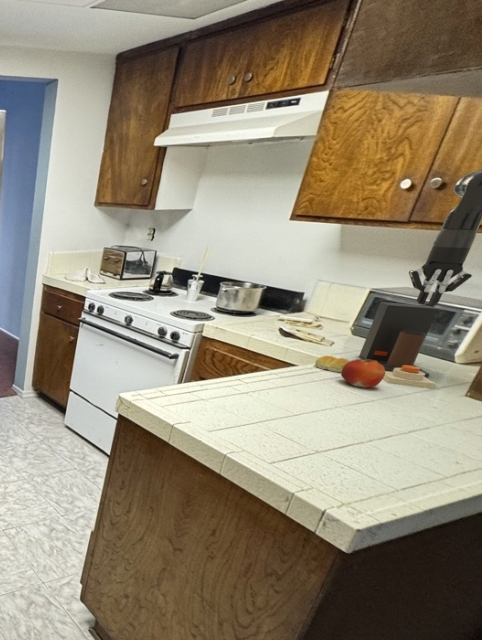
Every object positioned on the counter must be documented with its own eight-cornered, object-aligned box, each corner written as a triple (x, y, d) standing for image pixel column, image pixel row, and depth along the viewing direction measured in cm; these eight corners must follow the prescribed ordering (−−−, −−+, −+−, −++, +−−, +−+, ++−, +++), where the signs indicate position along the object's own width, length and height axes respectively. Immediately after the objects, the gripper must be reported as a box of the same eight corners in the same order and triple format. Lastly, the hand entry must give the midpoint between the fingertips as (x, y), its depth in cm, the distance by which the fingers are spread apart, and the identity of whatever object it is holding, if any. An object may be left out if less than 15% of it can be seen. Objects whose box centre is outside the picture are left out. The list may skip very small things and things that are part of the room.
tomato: (383, 393, 133) (394, 366, 130) (341, 386, 138) (351, 360, 135) (373, 383, 141) (384, 358, 138) (334, 377, 145) (343, 353, 142)
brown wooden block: (381, 360, 156) (395, 327, 152) (404, 363, 153) (419, 329, 149) (390, 367, 150) (405, 332, 145) (415, 370, 147) (431, 334, 143)
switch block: (420, 380, 144) (425, 370, 142) (433, 389, 137) (438, 377, 136) (377, 375, 148) (382, 364, 146) (388, 383, 141) (392, 372, 140)
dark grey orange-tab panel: (427, 378, 146) (457, 315, 138) (376, 372, 151) (402, 310, 143) (403, 363, 160) (429, 305, 152) (357, 358, 165) (380, 301, 157)
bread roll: (323, 363, 159) (327, 352, 157) (354, 371, 151) (359, 359, 149) (307, 365, 156) (311, 354, 154) (339, 374, 148) (344, 362, 147)
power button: (414, 371, 142) (416, 366, 141) (419, 375, 139) (422, 369, 138) (398, 369, 143) (400, 364, 143) (403, 373, 140) (405, 367, 140)
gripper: (426, 245, 137) (401, 304, 143) (493, 247, 131) (464, 309, 137) (414, 243, 143) (391, 300, 149) (477, 245, 137) (450, 304, 143)
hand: (426, 304), depth 143 cm, fingers closed
